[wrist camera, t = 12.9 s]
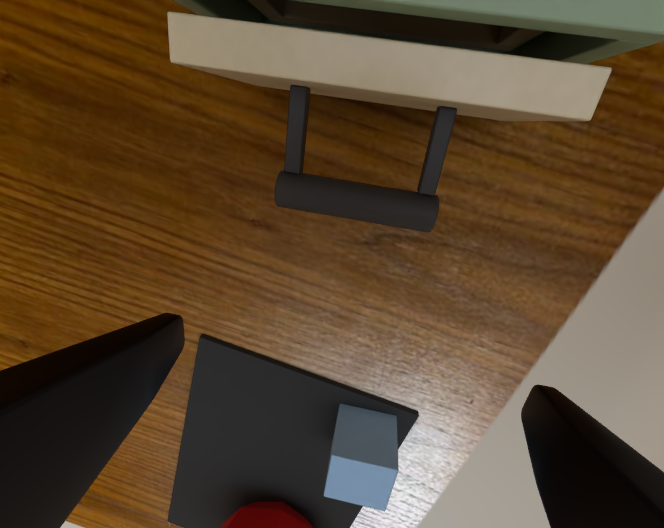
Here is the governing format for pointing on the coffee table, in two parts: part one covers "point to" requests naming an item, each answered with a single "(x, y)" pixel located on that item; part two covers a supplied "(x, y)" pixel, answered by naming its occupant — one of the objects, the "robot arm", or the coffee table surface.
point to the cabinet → (504, 22)
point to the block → (363, 457)
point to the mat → (262, 438)
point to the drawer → (383, 87)
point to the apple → (267, 517)
